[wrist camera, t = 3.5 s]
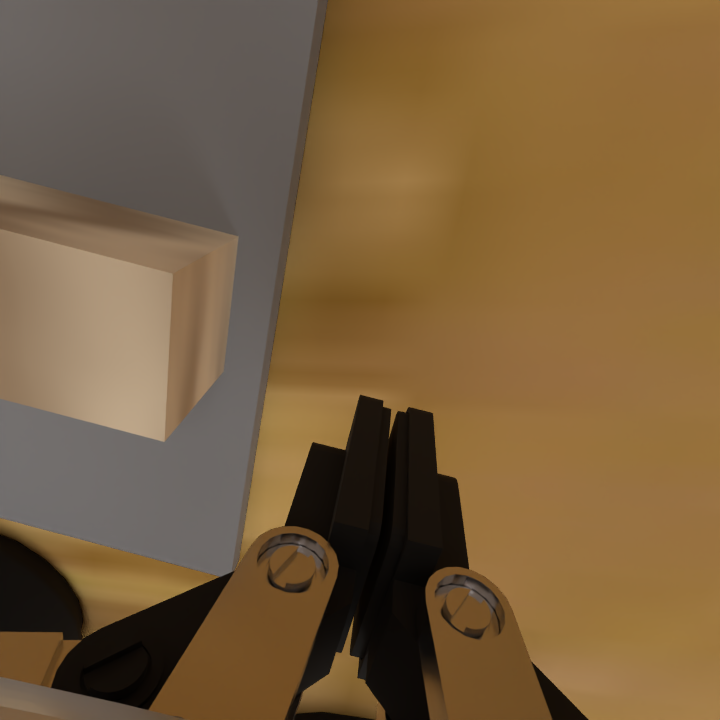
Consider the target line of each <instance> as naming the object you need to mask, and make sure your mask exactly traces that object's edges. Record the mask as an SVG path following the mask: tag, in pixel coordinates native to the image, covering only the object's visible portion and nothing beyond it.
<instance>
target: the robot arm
mask: <svg viewBox="0 0 720 720" xmlns="http://www.w3.org/2000/svg"><path fill="white" fill-rule="evenodd" d="M390 418H391V409H388V408H384V407H383V401H382V400H378V399H375V398H371V397H367V396H363V395H360V397H359V400H358V404H357V408H356V411H355V415H354V419H353V423H352V427H351V430H350V434H349V438H348V442H347V446H346V450H342V449H338V448H334V447H330V446H326V445H322V444H318V443H314V442H313V443H312V446H311V448H310V451H309V454H308V457H307V460H306V463H305V466H304V469H303V472H302V475H301V478H300V481H299V484H298V487H297V490H296V493H295V496H294V499H293V502H292V505H291V508H290V511H289V514H288V517H287V520H286V523H285V526H282V527H278V528H274V529H270V530H269V531H267V532H265V533H263V534H262V535H260V536H259V537H258V538H257V539H256V540H255V541H254V542H253V543H252V545H251V546H250V548H249V549H248V551H247V552H246V554H245V556H244V557H243V559H242V561H241V562H240V564H239V565H238V567H237V569H236V570H235V571H233V572H230V573H228V574H226V575H223V576H221V577H219V578H216V579H214V580H212V581H210V582H207V583H205V584H203V585H200V586H198V587H196V588H193V589H191V590H189V591H186V592H184V593H182V594H179V595H177V596H175V597H173V598H170V599H168V600H166V601H163V602H161V603H159V604H156V605H154V606H152V607H149V608H147V609H145V610H142V611H140V612H138V613H136V614H133V615H131V616H129V617H126V618H124V619H122V620H119V621H117V622H115V623H112V624H110V625H108V626H105V627H103V628H101V629H99V630H97V631H96V632H94V633H92V634H90V635H89V636H87V637H85V638H84V639H82V640H63V632H0V720H294V718H295V715H296V712H297V709H298V706H299V704H300V701H301V698H302V694H303V691H304V690H305V689H307V688H308V687H310V686H311V685H313V684H314V683H316V682H317V681H319V680H320V679H322V678H323V677H325V676H326V675H328V674H329V672H330V669H331V666H332V663H333V660H334V656H335V653H336V652H339V653H341V652H342V650H343V647H344V644H345V641H346V638H347V635H348V632H349V629H350V626H351V623H352V620H353V617H354V621H353V629H352V637H351V645H350V655H351V656H355V657H359V667H358V677H357V678H360V679H364V680H366V682H365V683H366V684H367V686H368V687H369V689H370V690H371V691H372V693H373V694H374V696H375V697H376V699H377V700H378V704H377V710H376V720H588V719H587V718H586V717H585V716H584V715H583V714H582V713H581V712H580V711H579V710H578V709H577V708H576V707H575V706H574V704H573V703H572V702H571V701H570V700H569V699H568V698H567V697H566V696H565V695H564V694H563V693H562V692H561V691H560V690H559V689H558V688H557V687H556V686H555V685H554V684H553V683H552V682H551V681H550V680H549V679H548V678H547V677H546V676H545V675H544V674H543V673H542V672H541V671H540V670H539V669H538V668H537V667H536V666H535V665H534V664H533V663H532V662H531V660H530V657H529V654H528V651H527V649H526V646H525V643H524V640H523V638H522V635H521V632H520V629H519V627H518V624H517V621H516V618H515V616H514V613H513V610H512V608H511V606H510V604H509V602H508V600H507V598H506V597H505V596H504V594H503V593H502V592H501V591H500V590H499V588H498V587H497V586H496V585H495V584H493V583H492V582H491V581H489V580H488V579H487V578H486V577H484V576H482V575H480V574H478V573H476V572H474V571H472V570H469V564H468V557H467V549H466V541H465V534H464V526H463V519H462V511H461V503H460V496H459V488H458V483H457V480H456V479H455V478H453V477H449V476H446V475H442V474H438V473H437V462H436V448H435V435H434V421H433V413H430V412H426V411H422V410H418V409H414V408H410V407H408V409H407V411H406V413H404V412H400V411H398V412H397V414H396V417H395V421H394V424H393V427H392V430H391V434H390V437H389V430H390Z"/></svg>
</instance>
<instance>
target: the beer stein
mask: <svg viewBox="0 0 720 720" xmlns="http://www.w3.org/2000/svg"><path fill="white" fill-rule="evenodd" d="M294 720H372V719H365V718H359V717H352V716H345V715H338V714H332V713H325V712H317V713H303V714H296V715H295V718H294Z"/></svg>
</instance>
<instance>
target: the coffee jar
mask: <svg viewBox="0 0 720 720" xmlns="http://www.w3.org/2000/svg"><path fill="white" fill-rule="evenodd" d="M82 623H83V619H82V614H81V610H80V605H79V601H78V599H77V598H76V596H75V594H74V593H73V591H72V590H71V588H70V586H69V585H68V583H67V582H66V580H65V579H64V578H63V577H62V576H61V575H60V574H59V573H58V572H57V571H56V570H55V569H54V568H53V567H52V566H51V565H50V564H49V563H48V562H46V561H45V560H44V559H43V558H42V557H40V556H38V555H37V554H35V553H34V552H32V551H31V550H29V549H28V548H26V547H24V546H23V545H21V544H20V543H18V542H17V541H14V540H12V539H9V538H7V537H5V536H2V535H0V632H63V640H82V634H81V627H82Z"/></svg>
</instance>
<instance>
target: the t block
mask: <svg viewBox="0 0 720 720" xmlns="http://www.w3.org/2000/svg"><path fill="white" fill-rule="evenodd" d="M238 238H239V236H235V235H231V234H227V233H223V232H220V231H216V230H212V229H208V228H204V227H200V226H196V225H192V224H189V223H185V222H181V221H177V220H173V219H169V218H165V217H161V216H158V215H154V214H150V213H146V212H142V211H138V210H134V209H130V208H127V207H123V206H119V205H115V204H111V203H107V202H103V201H99V200H95V199H92V198H88V197H84V196H80V195H76V194H72V193H68V192H64V191H61V190H57V189H53V188H49V187H45V186H41V185H37V184H33V183H30V182H26V181H22V180H18V179H14V178H10V177H6V176H2V175H0V399H3V400H7V401H11V402H15V403H19V404H22V405H26V406H30V407H34V408H38V409H41V410H45V411H49V412H53V413H56V414H60V415H64V416H68V417H72V418H75V419H79V420H83V421H87V422H91V423H94V424H98V425H102V426H106V427H110V428H113V429H117V430H121V431H125V432H129V433H132V434H136V435H140V436H144V437H147V438H151V439H155V440H159V441H163V442H165V441H166V440H167V438H168V437H169V436H170V435H171V434H172V432H173V431H174V430H175V429H176V428H177V426H178V425H179V424H180V423H181V422H182V420H183V419H184V418H185V417H186V416H187V414H188V413H189V412H190V411H191V410H192V409H193V407H194V406H195V405H196V404H197V403H198V401H199V400H200V399H201V398H202V397H203V395H204V394H205V393H206V392H207V391H208V389H209V388H210V387H211V386H212V385H213V383H214V382H215V381H216V380H217V379H218V377H219V376H220V375H221V374H222V373H223V372H224V364H225V355H226V346H227V337H228V328H229V319H230V310H231V301H232V292H233V283H234V274H235V265H236V256H237V247H238Z"/></svg>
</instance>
